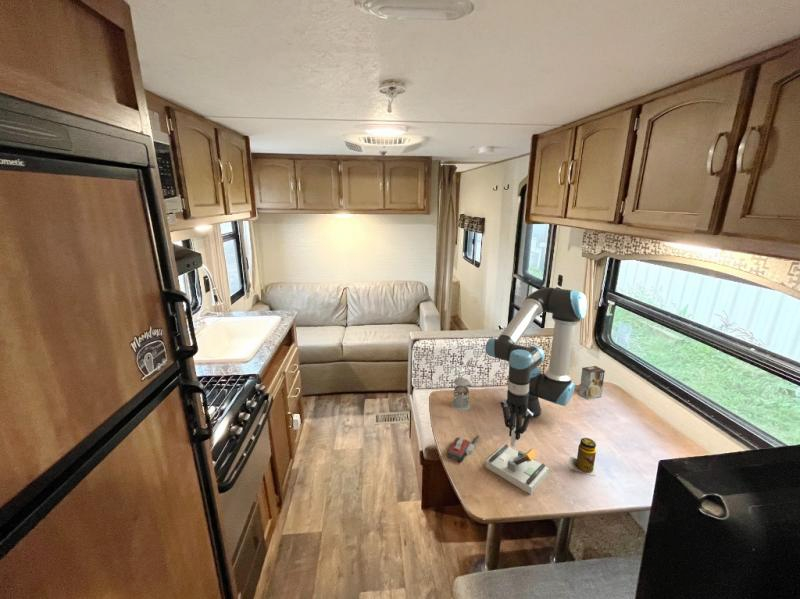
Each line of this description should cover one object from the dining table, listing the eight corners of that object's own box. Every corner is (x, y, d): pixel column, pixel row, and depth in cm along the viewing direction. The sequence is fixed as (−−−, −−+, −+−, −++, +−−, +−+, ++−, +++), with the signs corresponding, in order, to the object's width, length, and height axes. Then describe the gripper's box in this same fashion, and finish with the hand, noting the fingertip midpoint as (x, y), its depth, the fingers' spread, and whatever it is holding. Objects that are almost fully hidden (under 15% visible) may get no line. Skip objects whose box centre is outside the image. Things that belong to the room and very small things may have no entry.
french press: (449, 408, 177) (450, 364, 170) (454, 397, 187) (456, 355, 181) (468, 412, 173) (470, 367, 167) (472, 400, 183) (474, 358, 177)
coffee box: (592, 391, 191) (596, 365, 187) (601, 397, 185) (605, 370, 181) (578, 393, 189) (582, 367, 185) (587, 399, 183) (591, 372, 179)
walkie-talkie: (465, 467, 136) (480, 439, 153) (465, 457, 135) (480, 430, 152) (444, 459, 141) (461, 433, 157) (445, 450, 140) (462, 424, 156)
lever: (517, 455, 136) (534, 447, 129) (521, 460, 135) (538, 453, 128) (509, 462, 132) (526, 455, 125) (513, 468, 131) (530, 461, 124)
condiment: (594, 476, 130) (598, 449, 127) (569, 468, 134) (573, 442, 131) (594, 464, 137) (598, 438, 134) (570, 457, 140) (574, 432, 138)
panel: (503, 450, 145) (504, 438, 143) (547, 474, 131) (549, 461, 130) (485, 467, 136) (486, 454, 134) (530, 494, 122) (532, 480, 121)
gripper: (497, 388, 129) (494, 441, 135) (530, 401, 119) (525, 457, 126) (507, 381, 134) (504, 432, 140) (539, 393, 124) (534, 448, 130)
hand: (514, 444), depth 133 cm, fingers closed
